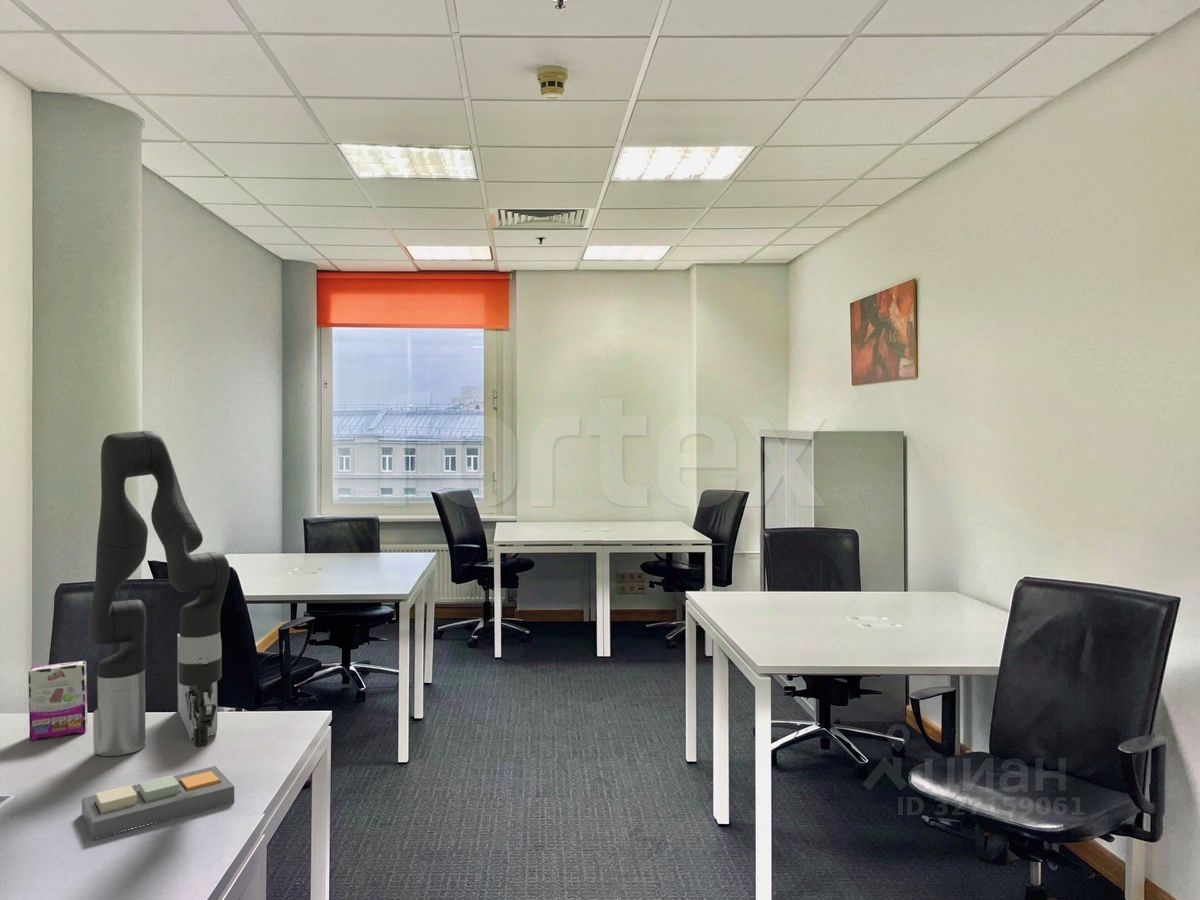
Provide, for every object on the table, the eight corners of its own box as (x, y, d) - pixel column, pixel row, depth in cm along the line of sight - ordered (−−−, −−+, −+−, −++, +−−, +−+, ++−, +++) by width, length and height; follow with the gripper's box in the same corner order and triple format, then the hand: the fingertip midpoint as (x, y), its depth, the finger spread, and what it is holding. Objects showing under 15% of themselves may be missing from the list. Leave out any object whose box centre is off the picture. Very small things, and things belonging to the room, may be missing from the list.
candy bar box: (87, 727, 196) (87, 659, 196) (85, 733, 192) (85, 664, 192) (32, 734, 191) (31, 665, 191) (28, 741, 187) (28, 670, 187)
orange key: (187, 798, 152) (187, 787, 152) (180, 788, 156) (180, 778, 156) (219, 790, 156) (219, 779, 156) (211, 780, 160) (211, 770, 160)
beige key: (101, 814, 143) (101, 803, 143) (95, 804, 147) (95, 793, 147) (136, 805, 147) (136, 794, 147) (130, 795, 151) (130, 784, 151)
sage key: (145, 803, 147) (145, 792, 147) (139, 793, 152) (139, 782, 152) (179, 794, 151) (179, 784, 151) (172, 785, 155) (172, 774, 155)
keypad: (93, 840, 139) (93, 822, 139) (81, 814, 149) (81, 798, 149) (234, 801, 154) (234, 786, 154) (215, 780, 164) (215, 765, 164)
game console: (202, 707, 211) (202, 630, 211) (218, 737, 188) (218, 652, 188) (178, 711, 208) (177, 633, 208) (191, 743, 185) (190, 656, 185)
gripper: (170, 652, 159) (170, 740, 159) (187, 667, 149) (188, 761, 149) (211, 646, 163) (211, 731, 164) (231, 660, 153) (231, 751, 154)
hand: (200, 745), depth 156 cm, fingers closed
